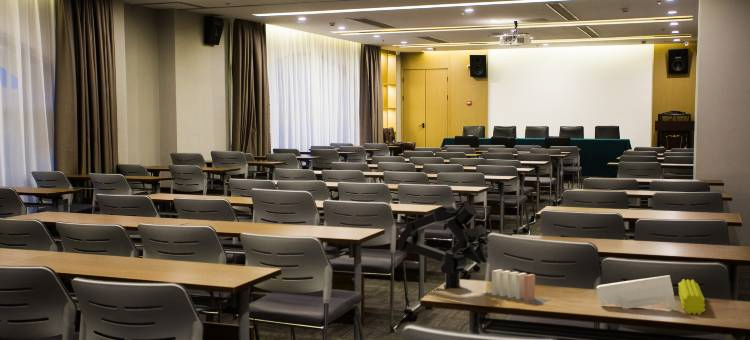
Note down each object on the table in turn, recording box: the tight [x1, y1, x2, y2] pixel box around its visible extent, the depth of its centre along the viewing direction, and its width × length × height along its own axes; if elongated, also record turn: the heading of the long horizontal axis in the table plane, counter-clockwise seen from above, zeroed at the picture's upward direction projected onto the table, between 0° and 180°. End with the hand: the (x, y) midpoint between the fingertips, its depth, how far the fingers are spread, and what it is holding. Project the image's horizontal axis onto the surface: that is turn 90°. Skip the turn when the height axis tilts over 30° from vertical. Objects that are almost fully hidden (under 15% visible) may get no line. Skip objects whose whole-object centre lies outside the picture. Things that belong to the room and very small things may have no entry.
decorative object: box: [678, 278, 706, 316], centre depth 275 cm, size 7×33×7 cm, turn 161°
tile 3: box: [508, 271, 520, 298], centre depth 285 cm, size 2×5×9 cm, turn 138°
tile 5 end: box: [524, 273, 536, 301], centre depth 280 cm, size 2×5×9 cm, turn 138°
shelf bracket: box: [596, 274, 678, 312], centre depth 269 cm, size 6×25×13 cm, turn 77°
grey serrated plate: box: [482, 291, 551, 305], centre depth 284 cm, size 24×9×1 cm, turn 48°
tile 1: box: [491, 268, 504, 295], centre depth 290 cm, size 2×5×9 cm, turn 138°
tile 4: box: [516, 272, 528, 299], centre depth 283 cm, size 2×5×9 cm, turn 137°
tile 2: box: [500, 270, 511, 296], centre depth 287 cm, size 2×5×9 cm, turn 138°
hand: (482, 262), depth 294 cm, fingers open, 3 cm apart
